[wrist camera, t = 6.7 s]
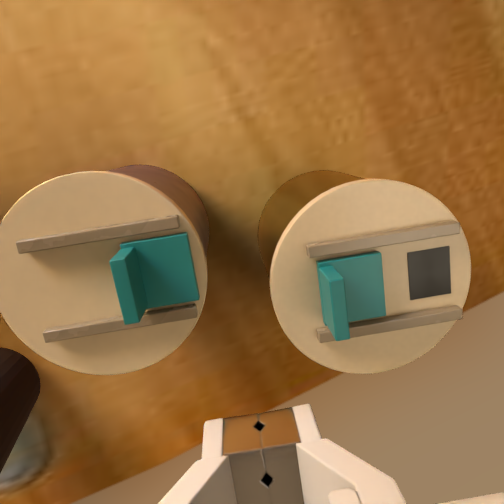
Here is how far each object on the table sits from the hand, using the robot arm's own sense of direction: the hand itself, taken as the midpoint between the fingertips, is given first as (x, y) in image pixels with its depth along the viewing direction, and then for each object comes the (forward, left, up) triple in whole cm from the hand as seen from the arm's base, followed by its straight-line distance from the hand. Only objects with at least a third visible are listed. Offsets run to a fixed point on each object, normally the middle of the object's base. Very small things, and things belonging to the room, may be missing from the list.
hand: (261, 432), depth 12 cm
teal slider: (0, +6, -10) cm, 12 cm away
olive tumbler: (0, +7, -23) cm, 23 cm away
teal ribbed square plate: (-2, -4, -10) cm, 11 cm away
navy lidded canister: (-2, -7, -23) cm, 24 cm away
